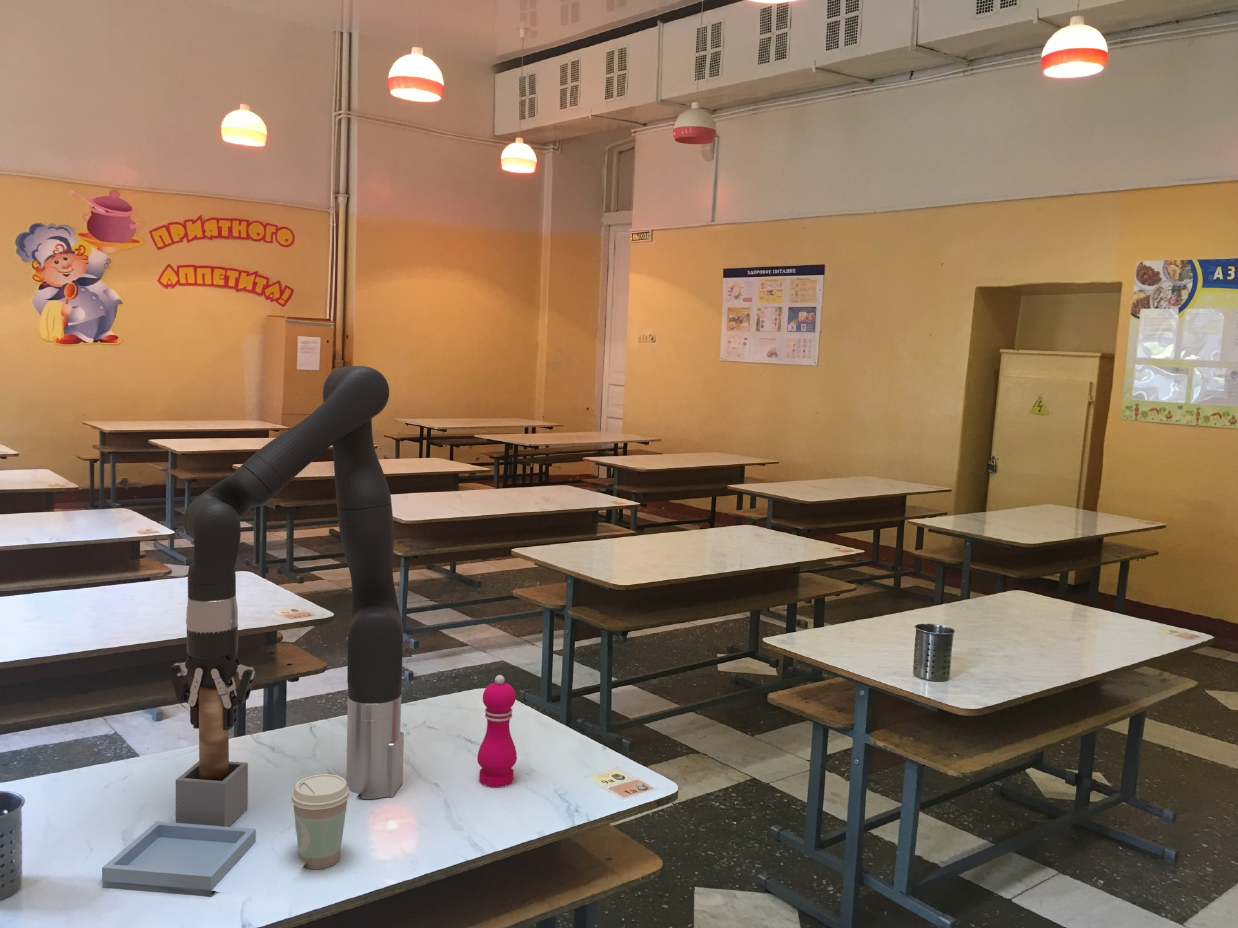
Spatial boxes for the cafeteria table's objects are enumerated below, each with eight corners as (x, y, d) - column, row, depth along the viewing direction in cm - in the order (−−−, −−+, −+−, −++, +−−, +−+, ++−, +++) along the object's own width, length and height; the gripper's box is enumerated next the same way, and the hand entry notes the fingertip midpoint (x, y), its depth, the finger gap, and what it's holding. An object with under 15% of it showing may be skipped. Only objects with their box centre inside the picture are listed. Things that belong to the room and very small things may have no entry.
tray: (255, 847, 148) (255, 828, 148) (211, 896, 134) (211, 876, 134) (156, 839, 149) (156, 820, 149) (102, 887, 135) (102, 867, 135)
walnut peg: (233, 777, 156) (233, 683, 154) (221, 789, 151) (220, 692, 150) (207, 775, 156) (206, 681, 154) (194, 787, 152) (193, 690, 150)
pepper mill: (469, 783, 174) (472, 677, 172) (489, 768, 180) (492, 666, 178) (504, 791, 171) (507, 684, 169) (522, 776, 178) (526, 672, 176)
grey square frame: (247, 814, 158) (247, 762, 157) (224, 837, 150) (224, 783, 149) (201, 810, 159) (201, 759, 158) (175, 834, 151) (175, 779, 150)
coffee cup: (298, 845, 149) (299, 771, 148) (353, 845, 150) (354, 772, 149) (283, 874, 141) (284, 796, 139) (342, 874, 141) (343, 797, 140)
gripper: (266, 619, 154) (266, 721, 156) (181, 615, 155) (182, 716, 157) (245, 632, 147) (246, 739, 149) (156, 628, 148) (157, 734, 149)
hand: (213, 727), depth 153 cm, fingers closed on walnut peg, 4 cm apart
